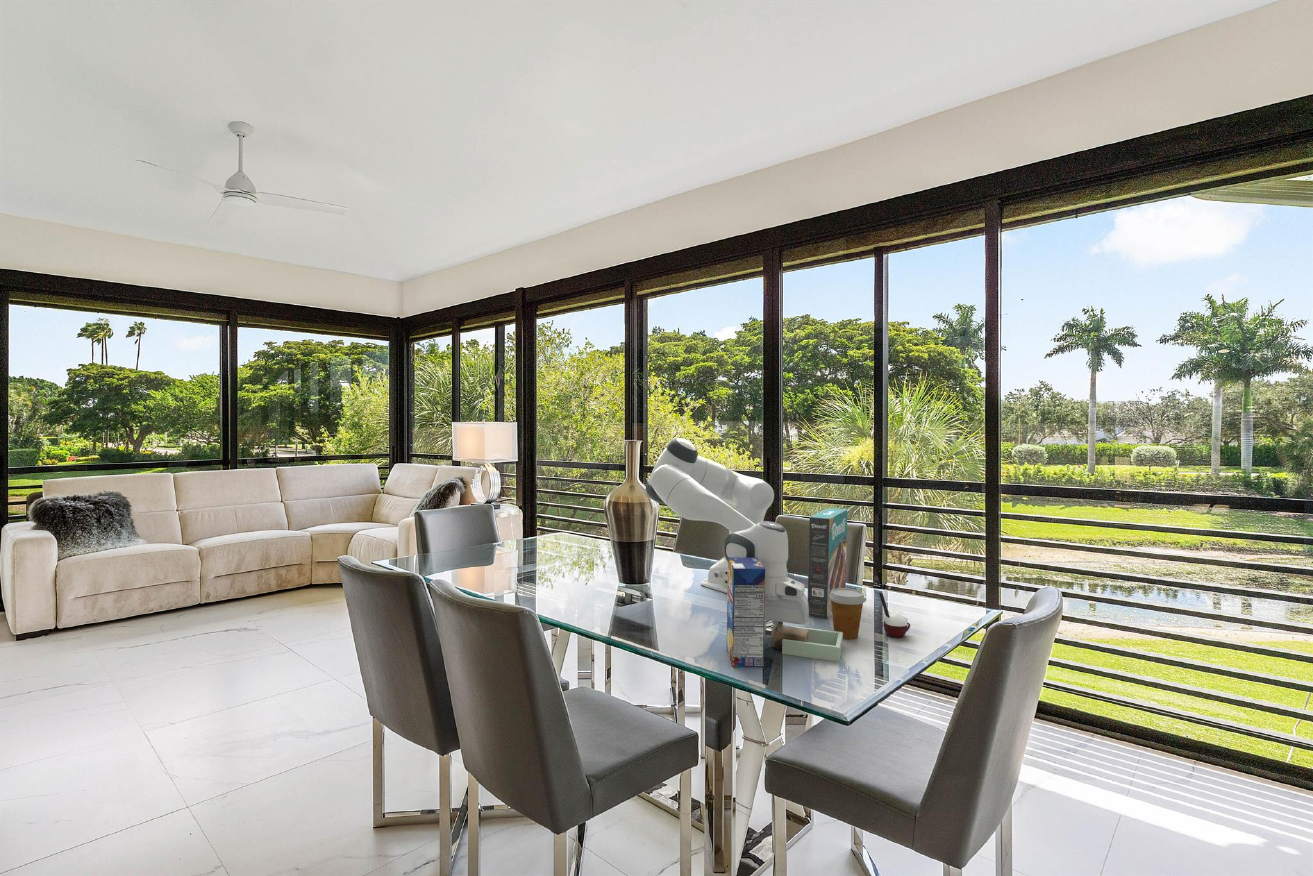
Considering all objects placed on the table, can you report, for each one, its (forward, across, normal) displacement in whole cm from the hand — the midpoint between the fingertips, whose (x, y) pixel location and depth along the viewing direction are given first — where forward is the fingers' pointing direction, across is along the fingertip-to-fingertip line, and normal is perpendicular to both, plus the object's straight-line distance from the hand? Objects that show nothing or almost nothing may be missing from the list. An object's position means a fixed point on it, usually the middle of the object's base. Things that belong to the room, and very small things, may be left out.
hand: (768, 636), depth 172 cm
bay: (+2, +11, 0) cm, 12 cm away
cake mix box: (+2, +11, +39) cm, 40 cm away
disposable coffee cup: (+2, +19, +15) cm, 24 cm away
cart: (+2, +6, 0) cm, 6 cm away
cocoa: (+2, +31, +20) cm, 37 cm away
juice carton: (+2, -4, -12) cm, 13 cm away
